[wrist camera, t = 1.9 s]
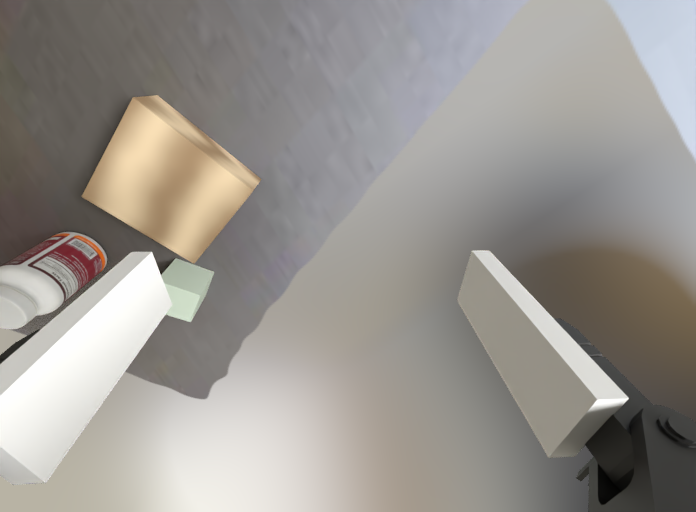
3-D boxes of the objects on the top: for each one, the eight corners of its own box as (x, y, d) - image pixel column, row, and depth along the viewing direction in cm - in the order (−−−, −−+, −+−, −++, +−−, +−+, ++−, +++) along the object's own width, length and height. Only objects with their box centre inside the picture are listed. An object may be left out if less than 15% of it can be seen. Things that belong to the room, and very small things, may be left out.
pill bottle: (59, 266, 37) (-34, 329, 27) (48, 224, 34) (-61, 279, 24) (112, 275, 38) (41, 339, 29) (106, 236, 35) (24, 293, 26)
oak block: (108, 184, 32) (81, 196, 28) (157, 95, 27) (132, 97, 24) (206, 246, 36) (194, 263, 33) (261, 179, 32) (253, 190, 29)
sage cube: (168, 284, 39) (148, 309, 35) (176, 257, 37) (156, 280, 33) (205, 297, 41) (190, 322, 37) (214, 271, 39) (200, 295, 34)
